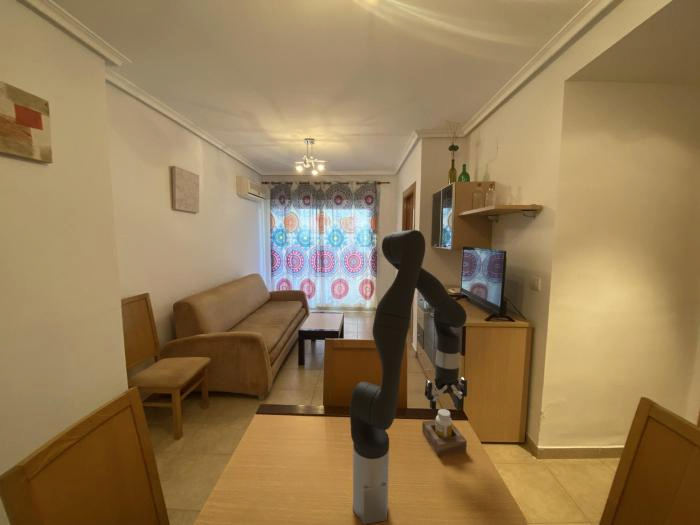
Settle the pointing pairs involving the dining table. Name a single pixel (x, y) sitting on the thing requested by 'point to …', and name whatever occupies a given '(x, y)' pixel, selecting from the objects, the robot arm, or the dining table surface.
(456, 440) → the block
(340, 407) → the dining table surface
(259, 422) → the dining table surface
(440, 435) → the supplement bottle
